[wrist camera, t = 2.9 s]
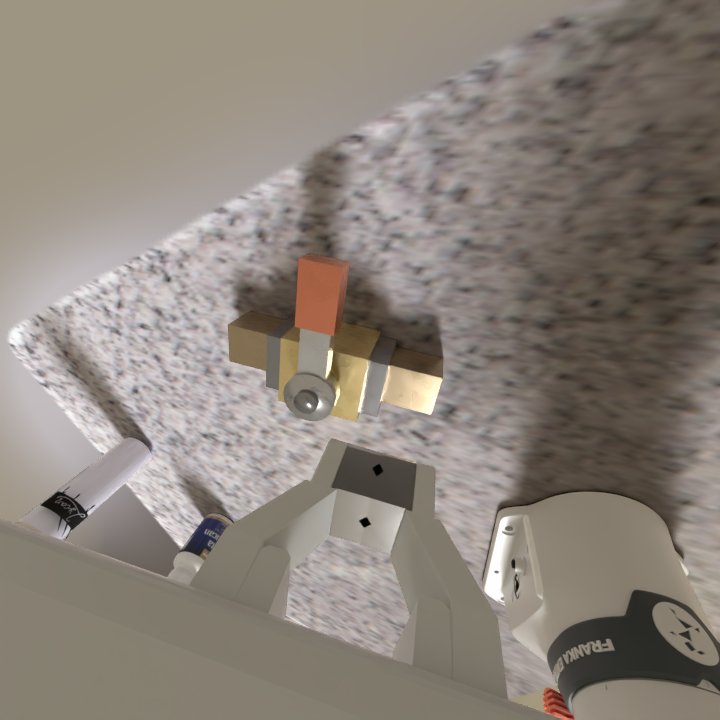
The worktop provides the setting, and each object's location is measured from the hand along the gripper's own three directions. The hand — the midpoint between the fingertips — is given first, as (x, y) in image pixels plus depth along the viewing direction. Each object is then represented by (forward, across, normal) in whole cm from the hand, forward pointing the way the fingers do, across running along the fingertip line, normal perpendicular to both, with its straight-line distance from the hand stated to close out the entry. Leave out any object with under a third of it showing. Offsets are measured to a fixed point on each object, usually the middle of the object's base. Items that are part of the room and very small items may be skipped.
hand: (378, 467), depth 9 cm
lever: (+14, +6, +4) cm, 16 cm away
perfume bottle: (+22, +33, +31) cm, 50 cm away
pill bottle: (+21, +21, +43) cm, 53 cm away
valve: (+21, +6, +8) cm, 23 cm away
